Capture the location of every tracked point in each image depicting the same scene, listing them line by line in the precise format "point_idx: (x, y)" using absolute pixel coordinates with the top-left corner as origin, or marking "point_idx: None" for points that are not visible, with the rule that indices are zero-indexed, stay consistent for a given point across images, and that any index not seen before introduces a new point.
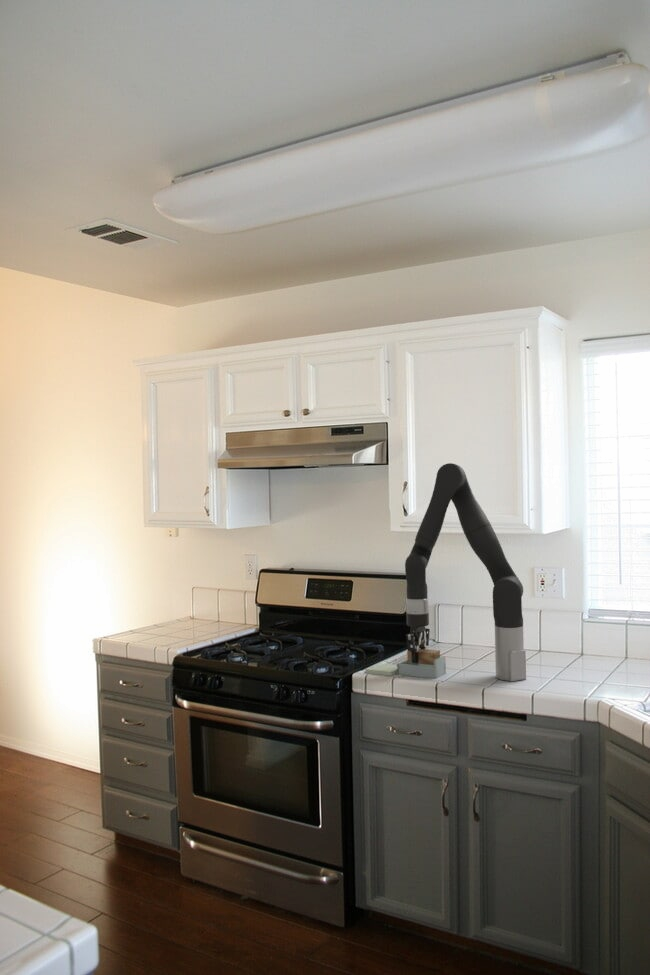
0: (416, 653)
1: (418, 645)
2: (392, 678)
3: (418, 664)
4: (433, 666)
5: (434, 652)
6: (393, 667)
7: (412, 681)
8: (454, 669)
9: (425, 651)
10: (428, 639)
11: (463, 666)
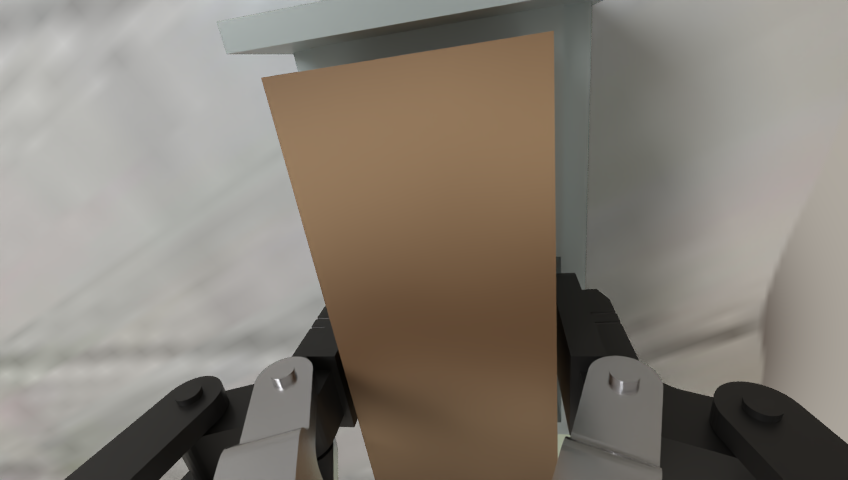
0: (602, 356)
1: (607, 452)
2: (704, 346)
3: (563, 253)
4: (560, 41)
5: (489, 70)
6: None
7: (768, 156)
8: (138, 73)
9: (489, 273)
10: (101, 466)
11: (8, 66)
